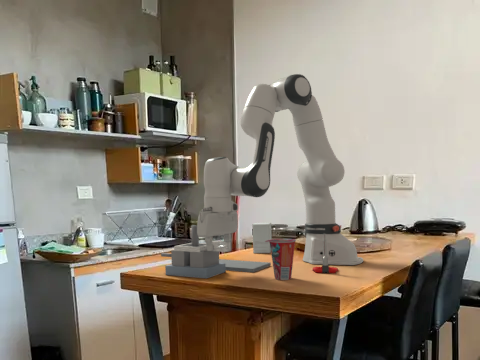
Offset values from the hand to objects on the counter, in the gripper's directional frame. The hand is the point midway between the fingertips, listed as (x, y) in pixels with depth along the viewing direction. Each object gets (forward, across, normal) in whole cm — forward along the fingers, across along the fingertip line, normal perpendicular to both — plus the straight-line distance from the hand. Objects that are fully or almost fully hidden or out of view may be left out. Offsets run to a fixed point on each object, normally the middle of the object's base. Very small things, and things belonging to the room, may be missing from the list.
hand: (218, 248), depth 155 cm
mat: (+9, +16, +3) cm, 18 cm away
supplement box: (+9, +54, +10) cm, 56 cm away
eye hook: (+1, 0, +5) cm, 5 cm away
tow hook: (+9, +21, -29) cm, 37 cm away
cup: (+9, +3, -21) cm, 23 cm away
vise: (+9, 0, +12) cm, 15 cm away
